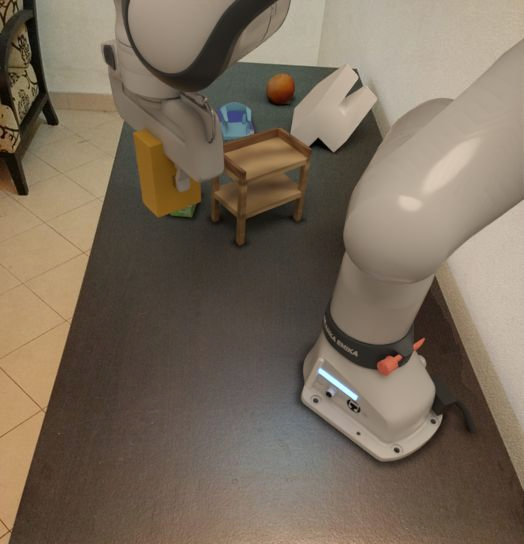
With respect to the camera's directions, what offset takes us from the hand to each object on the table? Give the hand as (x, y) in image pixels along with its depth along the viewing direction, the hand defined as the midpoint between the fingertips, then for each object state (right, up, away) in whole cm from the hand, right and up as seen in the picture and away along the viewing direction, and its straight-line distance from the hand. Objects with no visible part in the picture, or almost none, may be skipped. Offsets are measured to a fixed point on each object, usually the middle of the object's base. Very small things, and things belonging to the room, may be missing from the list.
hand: (170, 178), depth 63 cm
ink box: (-4, +8, +36) cm, 37 cm away
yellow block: (0, -2, +3) cm, 4 cm away
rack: (+11, +4, +35) cm, 37 cm away
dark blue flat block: (+5, +36, +60) cm, 70 cm away
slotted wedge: (+29, +32, +59) cm, 73 cm away
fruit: (+17, +48, +71) cm, 87 cm away
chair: (+6, +23, +49) cm, 55 cm away
